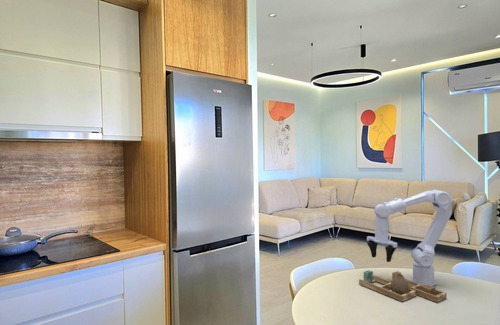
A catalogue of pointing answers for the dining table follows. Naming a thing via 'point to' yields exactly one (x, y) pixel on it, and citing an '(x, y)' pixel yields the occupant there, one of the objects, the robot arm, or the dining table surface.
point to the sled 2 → (417, 287)
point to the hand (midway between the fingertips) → (381, 259)
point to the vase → (399, 285)
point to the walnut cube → (428, 289)
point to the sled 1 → (384, 286)
